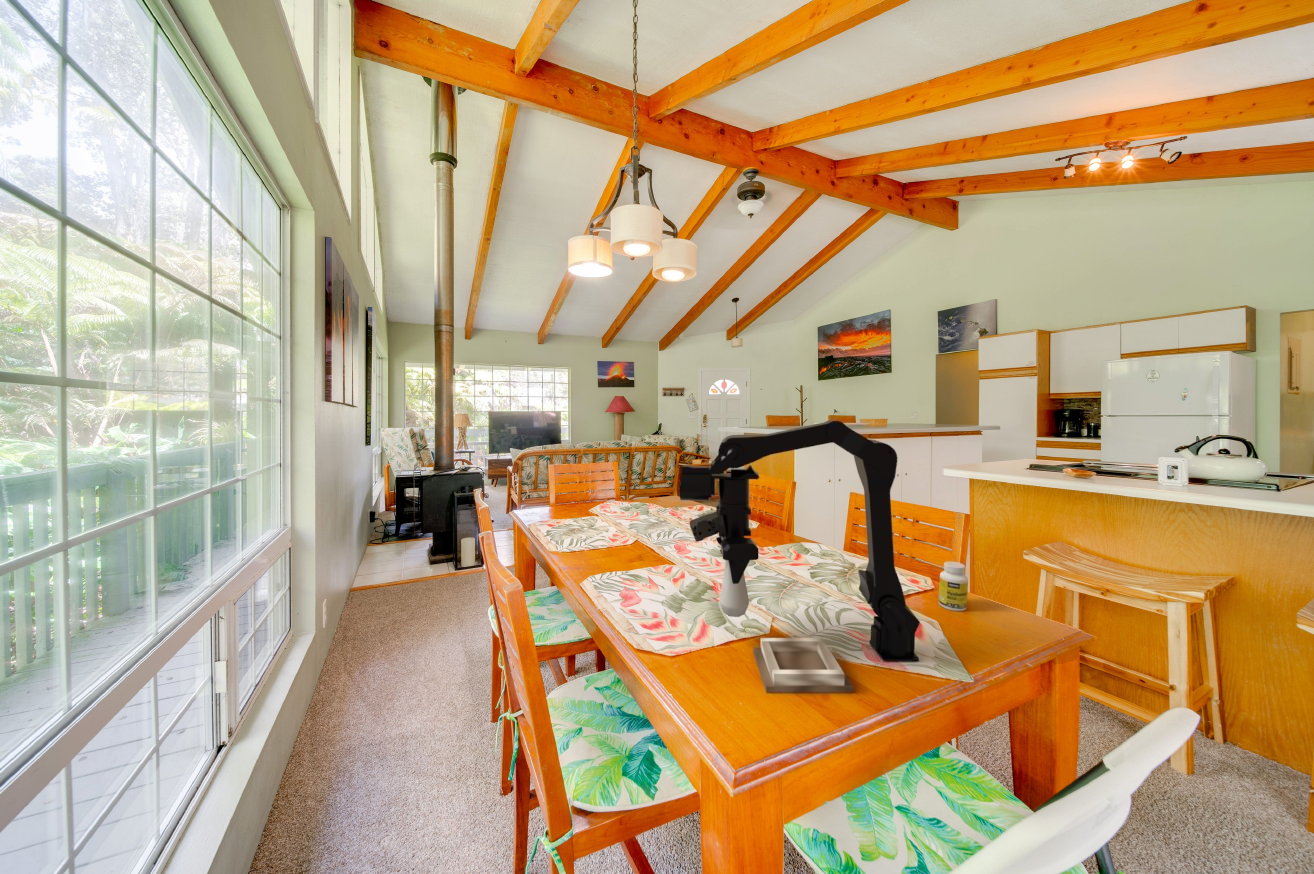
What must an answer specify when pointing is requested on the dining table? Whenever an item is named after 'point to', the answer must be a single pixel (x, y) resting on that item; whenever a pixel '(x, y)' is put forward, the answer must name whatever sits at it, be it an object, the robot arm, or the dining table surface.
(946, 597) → the supplement bottle
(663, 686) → the dining table surface
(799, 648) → the shaker stand
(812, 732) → the dining table surface
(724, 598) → the salt shaker
